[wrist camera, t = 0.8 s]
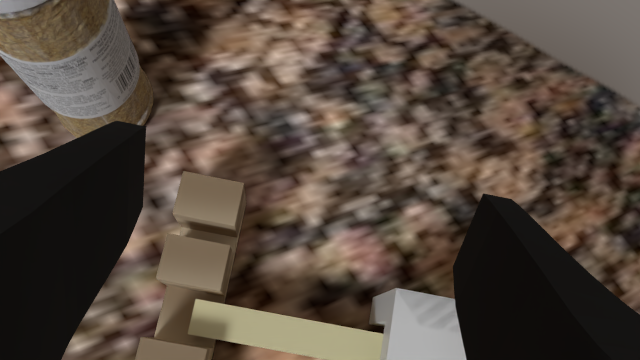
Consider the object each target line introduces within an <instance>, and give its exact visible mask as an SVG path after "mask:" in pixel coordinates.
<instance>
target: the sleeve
mask: <svg viewBox="0 0 640 360" xmlns="http://www.w3.org/2000/svg"><path fill="white" fill-rule="evenodd" d="M369 324H370V325H376V326H381V327H384V334H383V341H382V349H381V356H380V360H467V359H466V355H465V350H464V346H463V341H462V336H461V331H460V327H459V322H458V317H457V312H456V307H455V299H452V298H447V297H442V296H436V295H431V294H426V293H421V292H415V291H410V290H405V289H400V288H395V289H392V290H390V291H387V292H385V293H382V294H380V295H377V296H375V297H373V299H372V306H371V313H370V319H369Z"/></svg>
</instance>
